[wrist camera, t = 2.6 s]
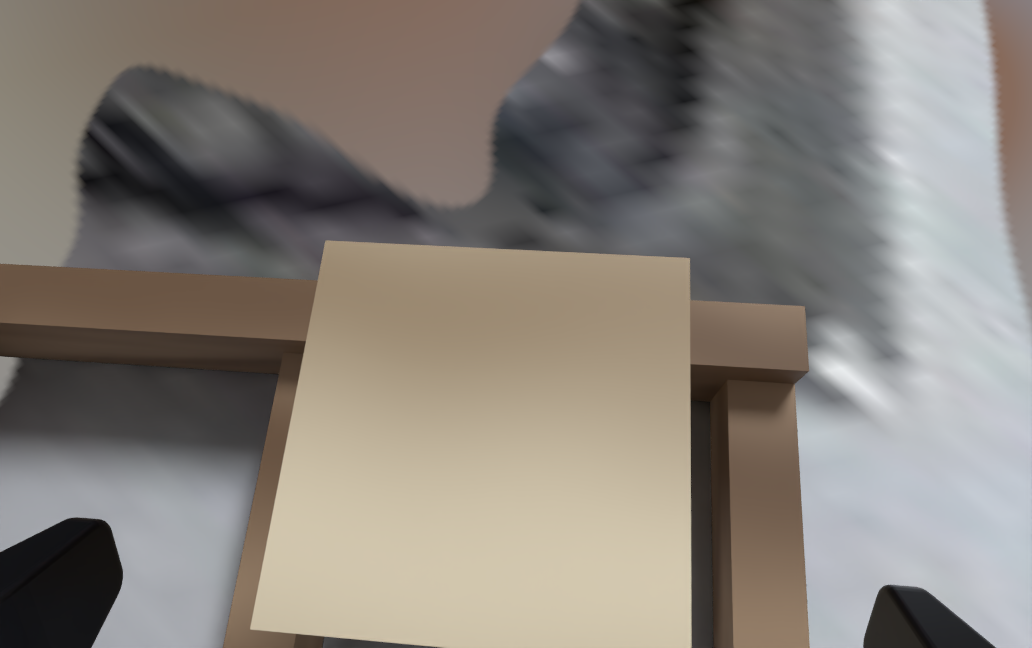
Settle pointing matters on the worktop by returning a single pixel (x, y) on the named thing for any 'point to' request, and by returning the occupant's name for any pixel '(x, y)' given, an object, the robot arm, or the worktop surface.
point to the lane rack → (279, 350)
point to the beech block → (488, 452)
